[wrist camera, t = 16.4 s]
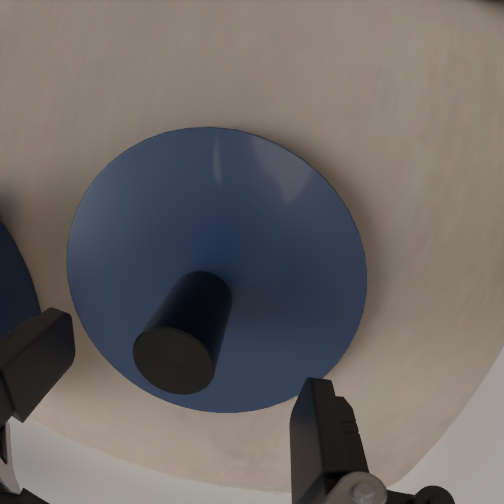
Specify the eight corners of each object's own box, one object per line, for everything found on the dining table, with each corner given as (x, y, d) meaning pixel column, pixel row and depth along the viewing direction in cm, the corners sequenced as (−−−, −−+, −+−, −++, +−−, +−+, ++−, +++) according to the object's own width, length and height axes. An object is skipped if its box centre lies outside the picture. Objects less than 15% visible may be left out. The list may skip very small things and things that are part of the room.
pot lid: (45, 286, 16) (-20, 332, 10) (191, 67, 12) (141, 12, 6) (227, 430, 18) (215, 505, 12) (414, 279, 14) (477, 341, 8)
